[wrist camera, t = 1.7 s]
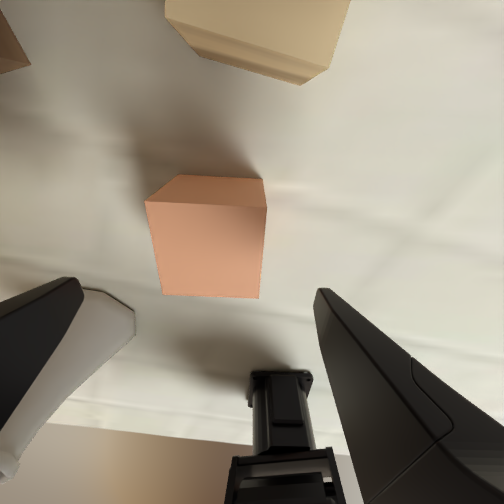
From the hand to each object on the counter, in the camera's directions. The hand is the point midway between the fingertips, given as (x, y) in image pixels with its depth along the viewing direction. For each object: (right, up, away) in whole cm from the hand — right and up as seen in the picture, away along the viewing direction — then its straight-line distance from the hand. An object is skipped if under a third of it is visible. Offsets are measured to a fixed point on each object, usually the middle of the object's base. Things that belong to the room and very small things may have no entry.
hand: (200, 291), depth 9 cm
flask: (-12, -4, +11) cm, 17 cm away
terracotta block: (0, +4, +6) cm, 7 cm away
